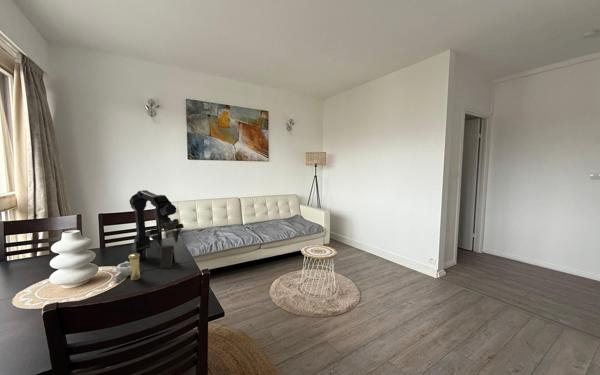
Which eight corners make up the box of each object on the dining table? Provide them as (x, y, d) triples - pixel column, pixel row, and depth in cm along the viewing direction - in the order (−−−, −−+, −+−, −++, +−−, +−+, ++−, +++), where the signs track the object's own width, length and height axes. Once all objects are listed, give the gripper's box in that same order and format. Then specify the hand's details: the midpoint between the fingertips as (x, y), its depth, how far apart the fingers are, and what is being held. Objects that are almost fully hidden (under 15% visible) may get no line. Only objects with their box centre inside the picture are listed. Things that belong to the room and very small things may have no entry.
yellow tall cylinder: (131, 277, 133) (130, 253, 131) (141, 275, 134) (140, 252, 133) (128, 281, 128) (127, 257, 127) (139, 279, 130) (138, 256, 128)
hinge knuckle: (123, 266, 145) (122, 258, 145) (139, 264, 148) (139, 257, 148) (111, 282, 127) (111, 273, 126) (130, 279, 130) (130, 271, 129)
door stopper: (170, 268, 144) (170, 248, 143) (159, 268, 144) (158, 248, 142) (176, 261, 153) (175, 243, 152) (165, 262, 152) (165, 243, 151)
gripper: (152, 218, 126) (158, 248, 126) (186, 212, 142) (191, 239, 141) (142, 221, 133) (148, 250, 132) (175, 215, 148) (181, 240, 147)
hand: (168, 244), depth 138 cm, fingers open, 9 cm apart
